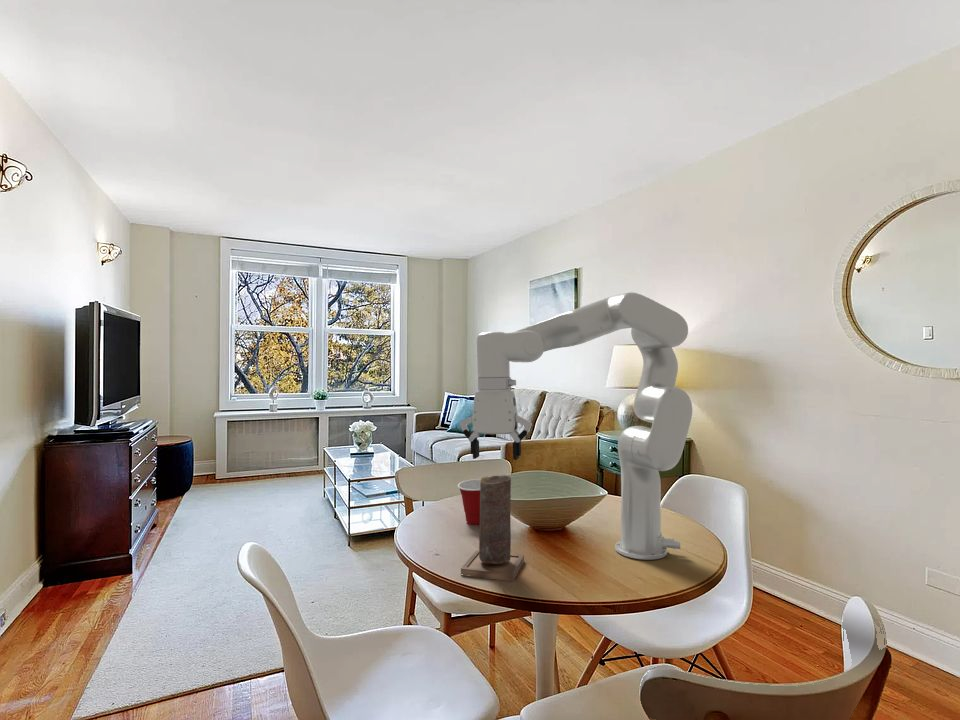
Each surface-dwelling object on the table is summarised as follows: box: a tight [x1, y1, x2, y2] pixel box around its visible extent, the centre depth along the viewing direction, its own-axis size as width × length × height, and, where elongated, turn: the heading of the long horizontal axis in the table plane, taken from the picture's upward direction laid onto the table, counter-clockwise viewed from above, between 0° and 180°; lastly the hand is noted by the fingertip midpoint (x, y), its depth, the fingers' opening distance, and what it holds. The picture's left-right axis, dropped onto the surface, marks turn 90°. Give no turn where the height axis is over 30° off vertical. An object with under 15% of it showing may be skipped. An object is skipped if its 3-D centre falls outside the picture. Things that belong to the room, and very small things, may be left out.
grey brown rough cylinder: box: [478, 474, 512, 564], centre depth 124 cm, size 8×7×20 cm
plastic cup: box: [457, 478, 481, 527], centre depth 159 cm, size 11×11×12 cm
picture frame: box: [460, 549, 525, 582], centre depth 124 cm, size 12×12×2 cm
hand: (495, 458), depth 124 cm, fingers open, 9 cm apart
